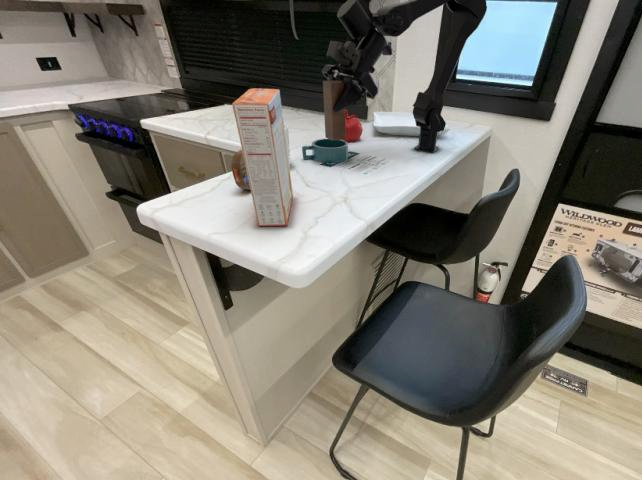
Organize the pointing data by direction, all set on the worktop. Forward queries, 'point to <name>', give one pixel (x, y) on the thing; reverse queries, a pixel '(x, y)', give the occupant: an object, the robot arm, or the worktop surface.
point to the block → (333, 119)
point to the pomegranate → (352, 128)
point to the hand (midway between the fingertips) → (330, 109)
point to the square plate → (398, 124)
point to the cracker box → (265, 154)
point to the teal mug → (327, 151)
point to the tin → (240, 170)
